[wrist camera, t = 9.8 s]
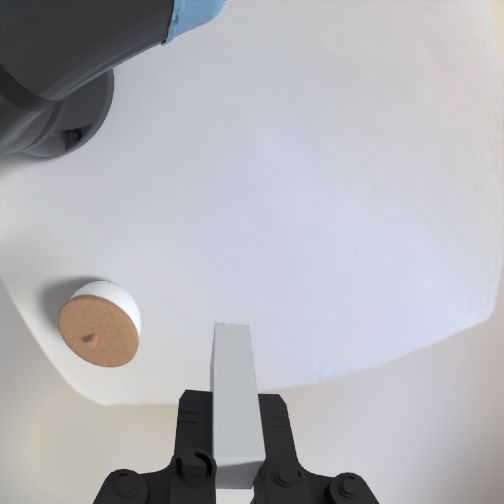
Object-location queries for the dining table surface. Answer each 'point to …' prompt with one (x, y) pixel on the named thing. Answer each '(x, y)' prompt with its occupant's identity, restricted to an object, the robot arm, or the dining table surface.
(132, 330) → the lidded jar
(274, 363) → the dining table surface
